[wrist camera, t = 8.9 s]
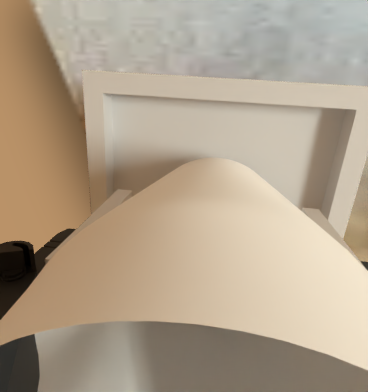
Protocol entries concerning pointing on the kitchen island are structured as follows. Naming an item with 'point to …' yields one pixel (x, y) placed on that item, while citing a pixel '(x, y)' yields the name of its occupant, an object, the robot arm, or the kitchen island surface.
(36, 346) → the robot arm
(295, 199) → the stand
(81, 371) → the cup
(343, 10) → the kitchen island surface
